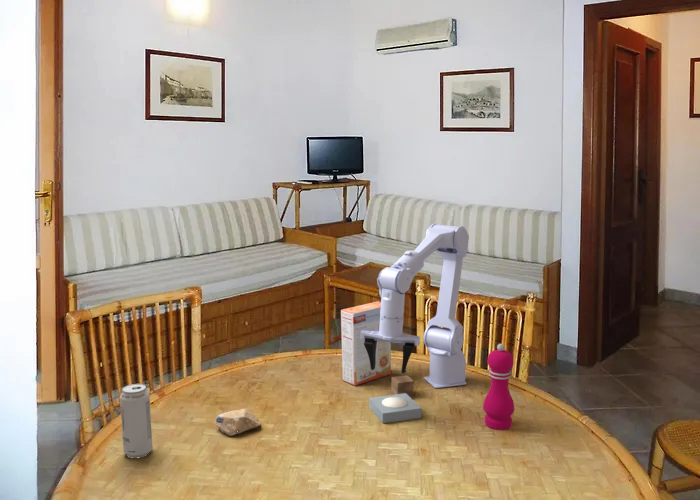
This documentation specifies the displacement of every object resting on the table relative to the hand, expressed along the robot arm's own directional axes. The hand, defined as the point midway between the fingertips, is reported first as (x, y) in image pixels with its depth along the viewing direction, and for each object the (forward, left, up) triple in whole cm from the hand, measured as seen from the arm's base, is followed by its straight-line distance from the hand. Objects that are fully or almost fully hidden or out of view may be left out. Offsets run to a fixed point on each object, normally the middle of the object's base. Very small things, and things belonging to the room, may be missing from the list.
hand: (388, 370), depth 167 cm
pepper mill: (-22, +15, -11) cm, 29 cm away
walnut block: (-7, -9, -11) cm, 16 cm away
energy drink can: (+60, +4, -11) cm, 61 cm away
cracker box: (-2, -24, -11) cm, 26 cm away
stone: (+36, -2, -11) cm, 38 cm away
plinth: (-1, +1, -11) cm, 11 cm away
